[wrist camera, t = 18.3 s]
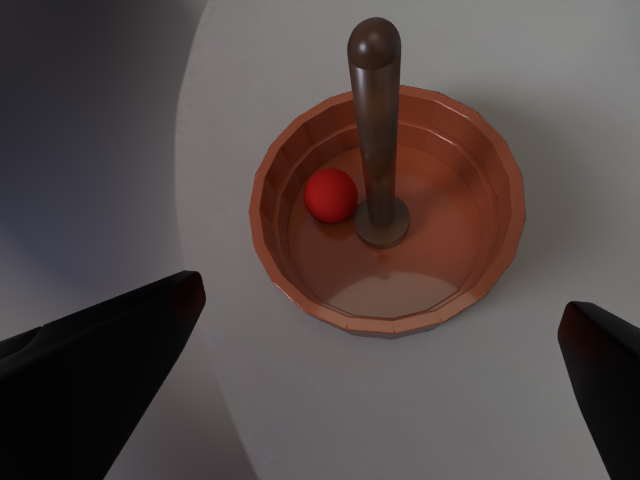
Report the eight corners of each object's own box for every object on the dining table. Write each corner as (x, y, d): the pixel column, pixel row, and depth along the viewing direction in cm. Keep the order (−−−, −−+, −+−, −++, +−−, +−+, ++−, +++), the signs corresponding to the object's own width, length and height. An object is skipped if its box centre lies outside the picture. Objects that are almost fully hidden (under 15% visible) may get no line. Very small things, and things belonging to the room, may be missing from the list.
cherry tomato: (335, 227, 22) (328, 240, 19) (299, 192, 22) (286, 200, 19) (370, 191, 21) (368, 199, 18) (332, 155, 21) (325, 157, 18)
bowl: (399, 391, 18) (402, 402, 14) (238, 245, 23) (200, 217, 18) (540, 210, 20) (586, 166, 16) (364, 108, 25) (359, 50, 20)
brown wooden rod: (419, 233, 20) (470, 34, 8) (370, 258, 20) (343, 100, 8) (392, 191, 21) (398, -41, 9) (346, 215, 21) (289, 16, 9)
